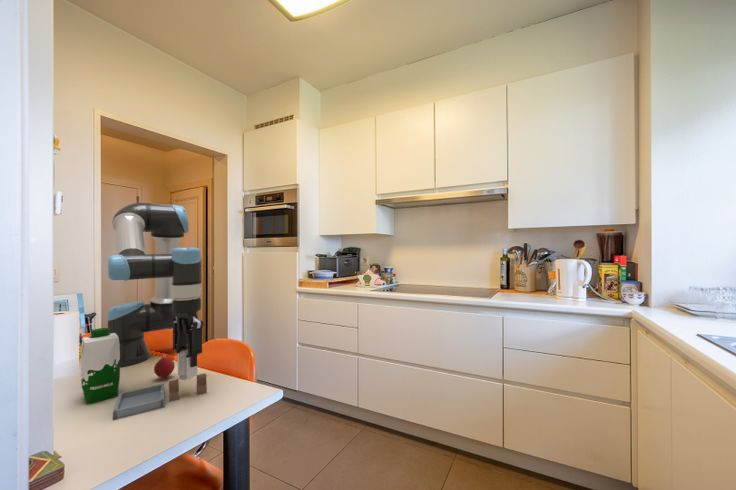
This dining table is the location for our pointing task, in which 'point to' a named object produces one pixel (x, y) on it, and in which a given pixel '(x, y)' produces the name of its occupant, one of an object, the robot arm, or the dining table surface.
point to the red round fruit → (164, 367)
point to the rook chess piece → (183, 365)
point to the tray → (139, 401)
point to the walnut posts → (175, 387)
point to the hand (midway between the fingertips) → (187, 375)
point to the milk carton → (100, 365)
